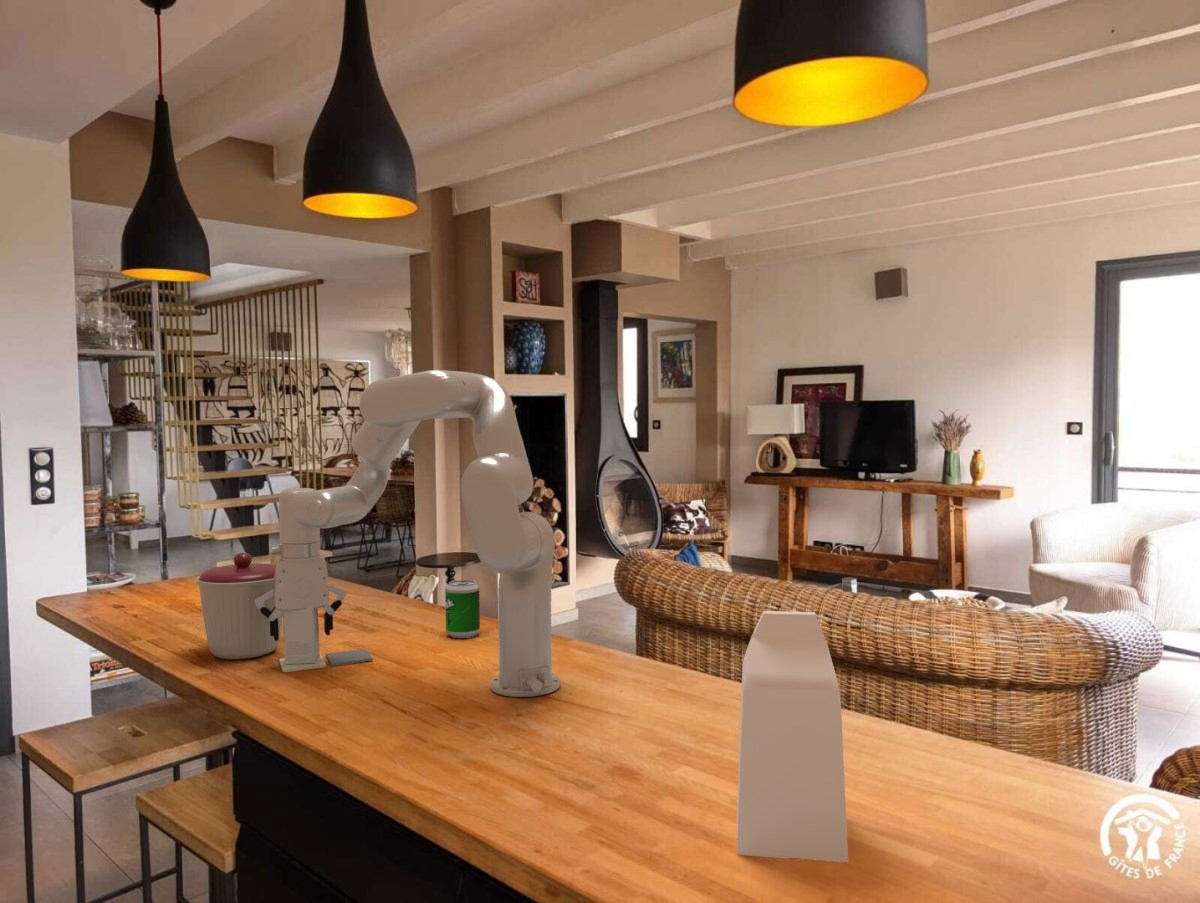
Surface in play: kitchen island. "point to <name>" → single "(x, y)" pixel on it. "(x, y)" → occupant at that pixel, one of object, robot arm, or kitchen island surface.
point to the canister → (238, 608)
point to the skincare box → (301, 635)
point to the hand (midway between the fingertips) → (302, 636)
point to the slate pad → (348, 657)
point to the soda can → (462, 609)
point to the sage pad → (302, 665)
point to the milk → (790, 744)
